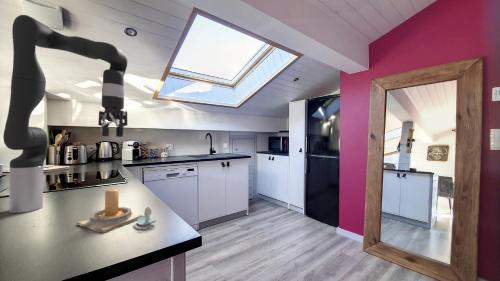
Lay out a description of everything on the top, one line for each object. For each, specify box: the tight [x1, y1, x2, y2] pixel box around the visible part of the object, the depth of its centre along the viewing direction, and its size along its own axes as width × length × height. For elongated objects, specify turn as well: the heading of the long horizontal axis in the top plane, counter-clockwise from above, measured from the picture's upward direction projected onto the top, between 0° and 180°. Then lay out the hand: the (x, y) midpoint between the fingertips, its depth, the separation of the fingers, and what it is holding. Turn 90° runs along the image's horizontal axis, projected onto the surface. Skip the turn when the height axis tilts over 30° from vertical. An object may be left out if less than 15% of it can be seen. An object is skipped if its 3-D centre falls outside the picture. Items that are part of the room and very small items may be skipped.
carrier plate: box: [76, 206, 144, 234], centre depth 74 cm, size 14×14×3 cm
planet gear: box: [98, 188, 124, 218], centre depth 74 cm, size 8×8×10 cm
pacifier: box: [133, 206, 157, 230], centre depth 70 cm, size 7×6×6 cm
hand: (112, 136), depth 84 cm, fingers open, 8 cm apart
